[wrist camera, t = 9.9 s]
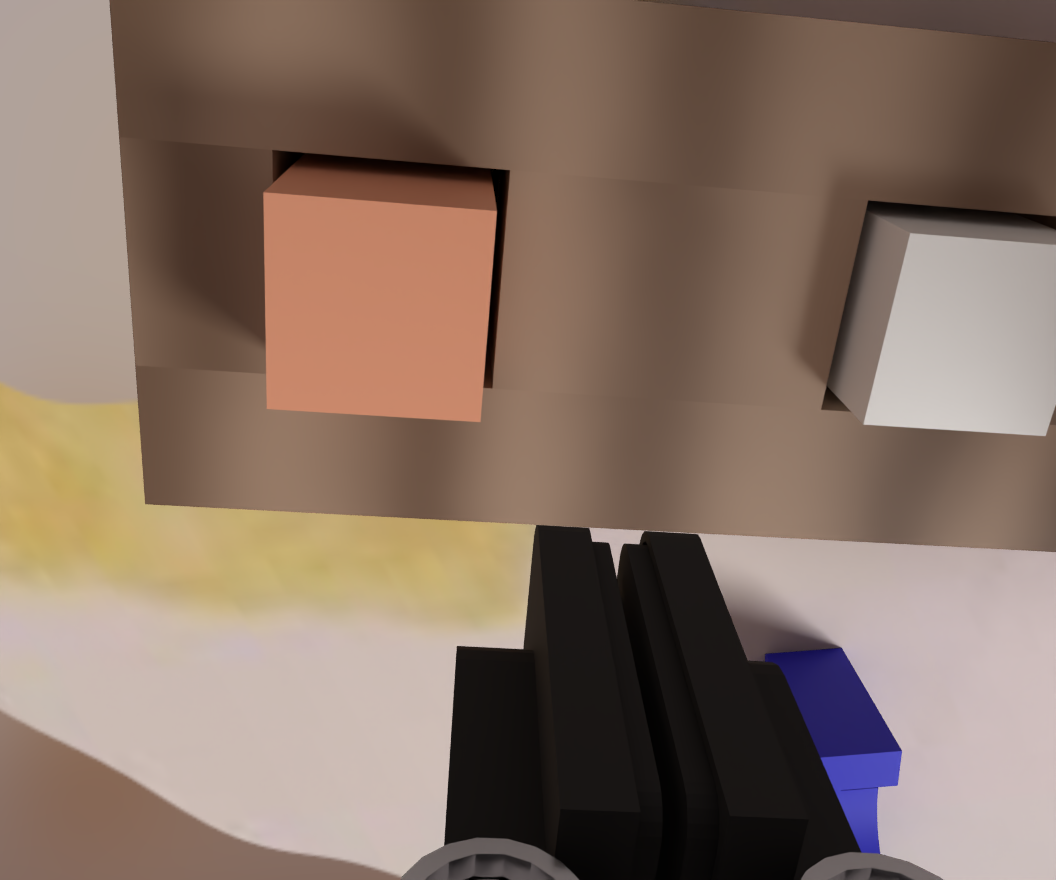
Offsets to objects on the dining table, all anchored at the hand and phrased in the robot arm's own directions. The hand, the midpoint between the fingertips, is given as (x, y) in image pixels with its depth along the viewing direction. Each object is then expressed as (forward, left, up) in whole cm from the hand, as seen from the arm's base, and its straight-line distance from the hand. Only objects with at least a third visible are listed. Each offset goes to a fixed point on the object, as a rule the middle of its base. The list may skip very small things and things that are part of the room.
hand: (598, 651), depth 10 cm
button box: (-4, 0, -23) cm, 23 cm away
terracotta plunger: (+3, 0, -21) cm, 21 cm away
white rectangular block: (-12, 0, -22) cm, 25 cm away
